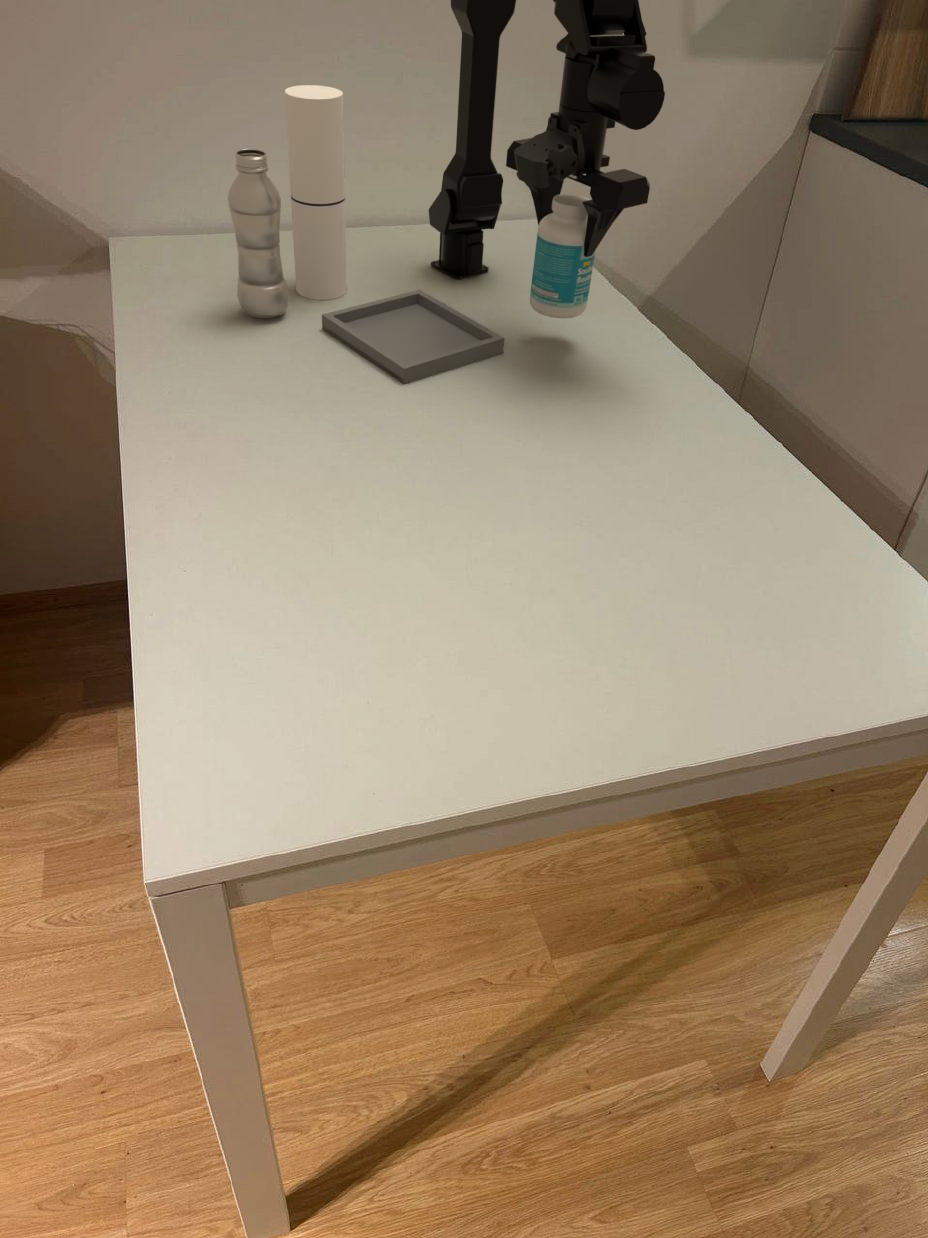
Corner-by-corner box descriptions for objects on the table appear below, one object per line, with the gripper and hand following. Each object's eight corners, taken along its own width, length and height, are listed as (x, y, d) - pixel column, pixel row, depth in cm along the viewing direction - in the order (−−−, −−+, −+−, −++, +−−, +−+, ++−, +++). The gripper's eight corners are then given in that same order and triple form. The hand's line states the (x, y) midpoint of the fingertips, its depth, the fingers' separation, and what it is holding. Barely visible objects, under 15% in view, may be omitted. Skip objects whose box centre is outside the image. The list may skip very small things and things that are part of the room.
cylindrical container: (306, 302, 129) (296, 100, 112) (289, 283, 133) (276, 86, 117) (354, 295, 131) (351, 97, 115) (336, 277, 136) (330, 83, 119)
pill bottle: (582, 324, 117) (599, 213, 108) (524, 315, 118) (537, 205, 109) (588, 301, 123) (605, 194, 114) (533, 293, 124) (546, 186, 115)
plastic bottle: (267, 328, 122) (254, 164, 108) (228, 314, 124) (211, 152, 111) (299, 313, 126) (290, 153, 113) (261, 299, 128) (248, 141, 115)
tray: (322, 329, 123) (321, 314, 121) (419, 303, 131) (419, 289, 129) (404, 383, 113) (404, 368, 111) (503, 352, 121) (504, 337, 119)
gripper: (476, 93, 106) (467, 233, 116) (593, 135, 96) (572, 285, 106) (547, 83, 111) (532, 218, 122) (665, 123, 101) (638, 266, 112)
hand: (565, 245), depth 115 cm, fingers closed on pill bottle, 7 cm apart
